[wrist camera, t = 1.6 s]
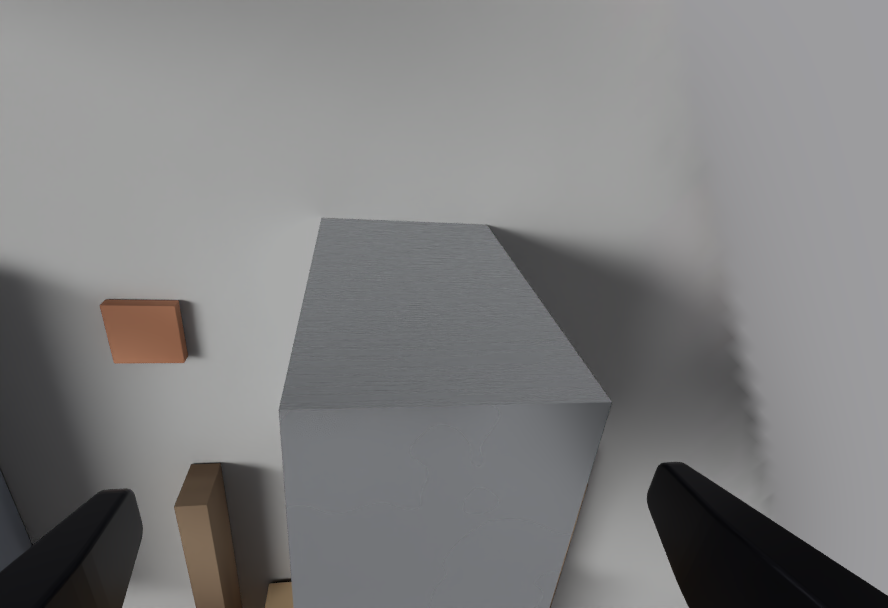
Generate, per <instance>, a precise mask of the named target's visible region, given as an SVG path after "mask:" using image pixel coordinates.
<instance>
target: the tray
mask: <svg viewBox="0 0 888 608" xmlns="http://www.w3.org/2000/svg"><path fill="white" fill-rule="evenodd" d="M31 546H32V544H31V542H30V539H29V537H28V534H27V532H26V530H25V527H24V525H23V523H22V520H21V518H20V516H19V513H18V511H17V508H16V506H15V504H14V501H13V499H12V497H11V494H10V492H9V489H8V487H7V485H6V482H5V480H4V478H3V475H2V473H1V470H0V571H2V570H3V569H4V568H5V567H7V566H8V565H9V564H10V563H12V562H13V561H14V560H15V559H16V558H18V557H19V556H20V555H21V554H23V553H24V552H25V551H26V550H28V549H29V548H30V547H31Z"/></svg>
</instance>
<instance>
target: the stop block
mask: <svg viewBox="0 0 888 608" xmlns="http://www.w3.org/2000/svg"><path fill="white" fill-rule="evenodd" d="M611 404H612V401H611V400H610V399H609V397H608V396H607V394H606V393H605V392H604V390H603V389H602V387H601V386H600V384H599V383H598V382H597V380H596V379H595V377H594V376H593V375H592V373H591V372H590V370H589V369H588V367H587V366H586V365H585V363H584V362H583V360H582V359H581V357H580V356H579V355H578V353H577V352H576V350H575V349H574V348H573V346H572V345H571V343H570V342H569V340H568V339H567V338H566V336H565V335H564V333H563V332H562V331H561V329H560V328H559V326H558V325H557V323H556V322H555V321H554V319H553V318H552V316H551V315H550V314H549V312H548V311H547V309H546V308H545V306H544V305H543V304H542V302H541V301H540V299H539V298H538V297H537V295H536V294H535V292H534V291H533V289H532V288H531V287H530V285H529V284H528V282H527V281H526V280H525V278H524V277H523V275H522V274H521V272H520V271H519V270H518V268H517V267H516V265H515V264H514V263H513V261H512V260H511V258H510V257H509V255H508V254H507V253H506V251H505V250H504V248H503V247H502V245H501V244H500V243H499V241H498V240H497V238H496V237H495V236H494V234H493V233H492V231H491V230H490V228H489V227H488V226H487V225H482V224H458V223H434V222H410V221H386V220H362V219H338V218H321V222H320V227H319V231H318V236H317V240H316V245H315V249H314V254H313V258H312V263H311V267H310V272H309V276H308V281H307V285H306V290H305V294H304V299H303V303H302V308H301V312H300V317H299V321H298V326H297V330H296V335H295V339H294V344H293V348H292V353H291V357H290V362H289V366H288V371H287V375H286V380H285V384H284V389H283V393H282V398H281V402H280V407H279V420H280V434H281V447H282V460H283V474H284V487H285V500H286V514H287V527H288V541H289V554H290V567H291V581H292V594H293V608H549V607H550V604H551V601H552V598H553V594H554V591H555V588H556V584H557V581H558V578H559V575H560V571H561V568H562V565H563V561H564V558H565V555H566V552H567V548H568V545H569V542H570V538H571V535H572V532H573V529H574V525H575V522H576V519H577V515H578V512H579V509H580V506H581V502H582V499H583V496H584V492H585V489H586V486H587V483H588V479H589V476H590V473H591V470H592V466H593V463H594V460H595V456H596V453H597V450H598V447H599V443H600V440H601V437H602V433H603V430H604V427H605V424H606V420H607V417H608V414H609V410H610V407H611Z"/></svg>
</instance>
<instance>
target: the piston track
mask: <svg viewBox="0 0 888 608" xmlns="http://www.w3.org/2000/svg"><path fill="white" fill-rule="evenodd" d="M100 309H101V313H102V317H103V321H104V325H105V329H106V333H107V337H108V341H109V345H110V349H111V353H112V357H113V361H114V363H184V362H185V361H186V359H187V357H188V353H187V348H186V342H185V336H184V330H183V324H182V318H181V312H180V306H179V300H105V301H104V302H103V303H102V304H101V305H100ZM587 486H588V483H587ZM587 486H586V489H587ZM586 489H585V492H586ZM585 492H584V496H585ZM584 496H583V499H584ZM583 499H582V502H583ZM582 502H581V506H582ZM581 506H580V509H581ZM174 509H175V513H176V518H177V522H178V527H179V532H180V536H181V541H182V545H183V550H184V555H185V559H186V564H187V568H188V573H189V577H190V582H191V587H192V591H193V596H194V600H195V605H196V608H242V602H241V595H240V589H239V582H238V575H237V569H236V562H235V555H234V549H233V542H232V535H231V529H230V522H229V515H228V509H227V502H226V495H225V489H224V482H223V475H222V469H221V463H212V464H191V466H190V469H189V471H188V474H187V476H186V478H185V481H184V483H183V486H182V488H181V491H180V493H179V496H178V498H177V501H176V503H175V506H174ZM580 509H579V512H580ZM579 512H578V515H579ZM578 515H577V519H578ZM577 519H576V522H577ZM576 522H575V525H576ZM575 525H574V529H575ZM574 529H573V532H574ZM573 532H572V535H573ZM572 535H571V538H572ZM571 538H570V542H571ZM570 542H569V545H570ZM569 545H568V548H569ZM568 548H567V552H568ZM567 552H566V555H567ZM566 555H565V558H566ZM565 558H564V561H565ZM564 561H563V565H564ZM563 565H562V568H563ZM562 568H561V571H562ZM561 571H560V575H561ZM560 575H559V578H560ZM559 578H558V581H559ZM558 581H557V584H558ZM557 584H556V588H557ZM556 588H555V591H556ZM555 591H554V594H555ZM554 594H553V597H554ZM552 601H553V598H552ZM552 601H551V604H552ZM551 604H550V607H551ZM550 607H549V608H550Z"/></svg>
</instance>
